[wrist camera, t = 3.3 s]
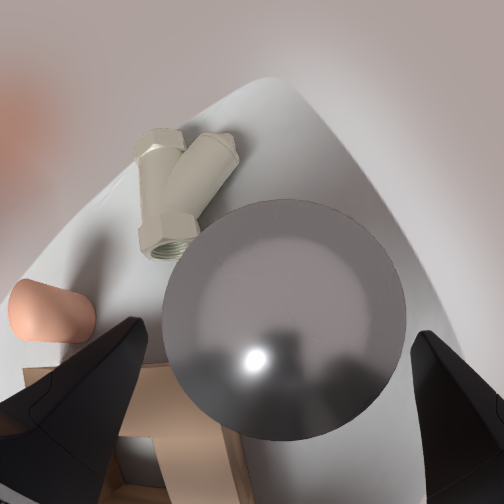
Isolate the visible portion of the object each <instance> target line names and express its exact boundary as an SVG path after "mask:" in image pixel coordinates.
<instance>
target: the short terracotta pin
mask: <svg viewBox="0 0 504 504" xmlns="http://www.w3.org/2000/svg"><path fill="white" fill-rule="evenodd" d="M8 318H9V323H10V326H11V329H12V331H13V333H14V334H15V335H16V336H17V337H18V338H19V339H21V340H23V341H38V342H59V343H82V342H85V341H87V340H88V339H89V338H90V337H91V335H92V333H93V331H94V329H95V324H96V314H95V309H94V306H93V304H92V303H91V301H90V300H89V299H88V298H87V297H86V296H85V295H83V294H79V293H75V292H71V291H68V290H64V289H60V288H57V287H53V286H50V285H47V284H43V283H40V282H36V281H33V280H30V279H22V280H20V281H19V282H18V283H17V284H16V285H15V286H14V288H13V290H12V292H11V294H10V298H9V303H8Z"/></svg>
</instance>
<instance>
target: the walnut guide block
mask: <svg viewBox="0 0 504 504" xmlns="http://www.w3.org/2000/svg"><path fill="white" fill-rule="evenodd" d="M57 367H58V366H57ZM55 368H56V367H39V368H23V375H24V381H25V387H28V386H30V385H31V384H33V383H35V382H36V381H38V380H39V379H40V378H42V377H43V376H45V375H46V374H48V373H49V372H51V371H53V370H54V369H55ZM118 436H128V437H147V438H152V442H153V445H154V449H155V453H156V456H157V460H158V463H159V466H160V470H161V473H162V476H163V479H164V482H165V485H166V488H156V487H146V486H138V485H130V484H125V483H124V480H123V478H122V475H121V472H120V469H119V466H118V463H117V459H116V456H115V453H114V450H113V453H112V456H111V460H110V463H109V466H108V469H107V473H106V476H105V478H104V479H105V480H104V483H103V487H102V490H101V494H100V497H99V501H98V504H256V502H255V498H254V494H253V490H252V486H251V482H250V477H249V473H248V469H247V465H246V460H245V456H244V451H243V447H242V442H241V438H240V433H237V432H235V431H233V430H230V429H228V428H226V427H224V426H223V425H221V424H219V423H218V422H216V421H214V420H213V419H211V418H210V417H209V416H208V415H206V414H205V413H204V412H203V411H201V410H200V409H199V408H198V407H197V406H196V405H195V404H194V403H193V401H192V400H191V399H190V398H189V397H188V396H187V394H186V393H185V392H184V390H183V389H182V387H181V386H180V385H179V383H178V381H177V379H176V377H175V375H174V373H173V371H172V369H171V367H170V364H169V362H163V363H151V364H142V366H141V370H140V374H139V378H138V381H137V384H136V387H135V389H134V392H133V395H132V398H131V400H130V403H129V406H128V409H127V412H126V414H125V417H124V420H123V423H122V426H121V429H120V432H119V435H118Z"/></svg>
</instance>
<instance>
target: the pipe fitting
mask: <svg viewBox="0 0 504 504" xmlns="http://www.w3.org/2000/svg"><path fill="white" fill-rule="evenodd" d="M234 142H235V140H234V137H233V136H232V135H231V134H229V133H223V134H221V133H216V134H213V133H210V132H204V133H201V134H200V135H199V136H198V137H197V138H196V140H195V141H194V142H193V143H192V144H191V145H190V146H189V147H188V149H187V146H186V143H185V140H184V137H183V134H182V132H181V131H178V130H174V129H168V128H157V129H152V130H150V131H149V132H147V133H146V134H145V135H143V136H142V137H141V138H140V139H139V140H138V141H137V142H136V143H135V145H134V159H135V161H136V164H137V165H138V167H139V186H140V202H141V215H142V226H141V227H140V228H139V229H138V233H139V243H140V251H141V252H142V253H143V255H144V256H145V257H147V258H148V259H151V260H156V261H170V260H177V259H180V257H181V256H182V254H183V253H184V251H185V250H186V249H187V247H188V246H189V245H190V244H191V243H192V241H193V240H194V239H195V238H196V237H197V236H198V235H199V234H200V233H201V231H200V227H199V224H198V221H197V219H198V217H199V216H200V215H201V213H202V212H203V210H204V209H205V208H206V206H207V205H208V204H209V202H210V201H211V200H212V198H213V197H214V195H215V194H216V193H217V192H218V190H219V189H220V188H221V186H222V185H223V184H224V182H225V181H226V180H227V178H228V177H229V176H230V174H231V173H232V172H233V171H234V169H235V168H236V167H237V165H238V164H239V156H238V154H237V152H236V146H235V143H234Z"/></svg>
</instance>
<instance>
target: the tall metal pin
mask: <svg viewBox="0 0 504 504" xmlns="http://www.w3.org/2000/svg"><path fill="white" fill-rule="evenodd" d="M405 332H406V305H405V298H404V293H403V289H402V285H401V282H400V279H399V276H398V274H397V272H396V269H395V267H394V265H393V263H392V261H391V260H390V258H389V256H388V255H387V253H386V251H385V250H384V249H383V247H382V246H381V245H380V244H379V242H378V241H377V240H376V239H375V238H374V237H373V236H372V235H371V234H370V233H369V232H368V231H367V230H366V229H365V228H364V227H363V226H361V225H360V224H358V223H357V222H356V221H354V220H353V219H351V218H350V217H348V216H346V215H344V214H343V213H341V212H339V211H337V210H334V209H332V208H329V207H327V206H324V205H321V204H317V203H313V202H309V201H301V200H293V199H285V200H270V201H262V202H258V203H254V204H251V205H247V206H244V207H242V208H239V209H237V210H234V211H232V212H230V213H228V214H226V215H225V216H223V217H221V218H219V219H218V220H216V221H215V222H214V223H212V224H211V225H209V226H208V227H207V228H206V229H204V230H203V231H202V232H201V233H200V234H199V235H198V236H197V237H196V238H195V239H194V240H193V241H192V243H191V244H190V245H189V246H188V247H187V249H186V250H185V251H184V253H183V254H182V256H181V257H180V259H179V261H178V262H177V264H176V266H175V268H174V270H173V272H172V274H171V277H170V279H169V282H168V285H167V289H166V292H165V297H164V302H163V307H162V335H163V342H164V347H165V351H166V355H167V358H168V361H169V364H170V367H171V369H172V371H173V373H174V375H175V377H176V379H177V381H178V383H179V385H180V386H181V387H182V389H183V390H184V392H185V393H186V394H187V396H188V397H189V398H190V399H191V400H192V401H193V403H194V404H195V405H196V406H197V407H198V408H199V409H200V410H201V411H203V412H204V413H205V414H206V415H208V416H209V417H210V418H211V419H213V420H214V421H216V422H218V423H219V424H221V425H223V426H224V427H226V428H228V429H230V430H233V431H235V432H237V433H240V434H242V435H246V436H249V437H253V438H256V439H263V440H270V441H295V440H303V439H308V438H312V437H316V436H320V435H323V434H326V433H328V432H330V431H333V430H335V429H337V428H339V427H341V426H343V425H345V424H346V423H348V422H350V421H351V420H353V419H354V418H355V417H357V416H358V415H359V414H361V413H362V412H363V411H364V410H366V409H367V408H368V407H369V406H370V405H371V404H372V403H373V401H374V400H375V399H376V398H377V397H378V396H379V395H380V393H381V392H382V391H383V389H384V388H385V387H386V385H387V384H388V382H389V380H390V378H391V376H392V375H393V373H394V371H395V369H396V366H397V364H398V361H399V359H400V356H401V353H402V348H403V344H404V340H405Z"/></svg>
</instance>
